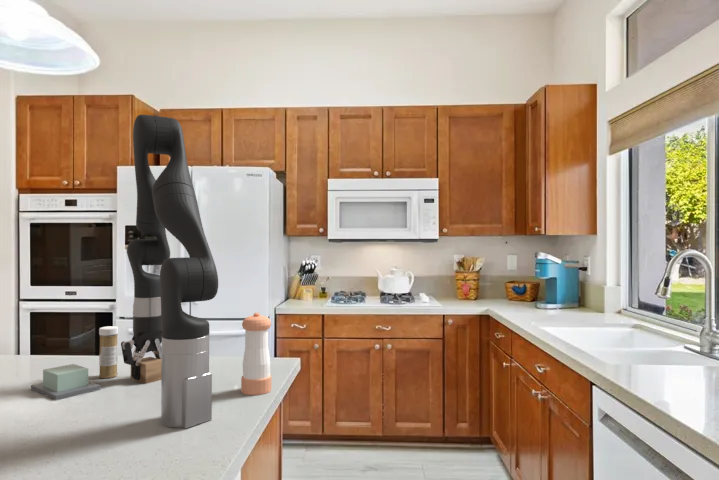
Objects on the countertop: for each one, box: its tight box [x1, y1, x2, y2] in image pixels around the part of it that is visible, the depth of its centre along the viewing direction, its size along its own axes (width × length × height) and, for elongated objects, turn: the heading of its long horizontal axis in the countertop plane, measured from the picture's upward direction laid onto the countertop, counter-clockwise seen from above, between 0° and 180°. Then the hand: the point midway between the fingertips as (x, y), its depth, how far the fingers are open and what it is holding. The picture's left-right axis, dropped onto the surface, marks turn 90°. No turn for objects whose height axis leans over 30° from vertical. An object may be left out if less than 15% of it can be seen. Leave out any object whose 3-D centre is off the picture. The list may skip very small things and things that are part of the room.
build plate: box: [30, 363, 101, 401], centre depth 118 cm, size 14×10×5 cm
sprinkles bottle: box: [98, 325, 119, 379], centre depth 130 cm, size 5×5×14 cm
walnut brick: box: [130, 356, 162, 385], centre depth 127 cm, size 7×6×5 cm
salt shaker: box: [240, 312, 273, 396], centre depth 118 cm, size 7×7×19 cm
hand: (148, 376), depth 127 cm, fingers closed on walnut brick, 5 cm apart
